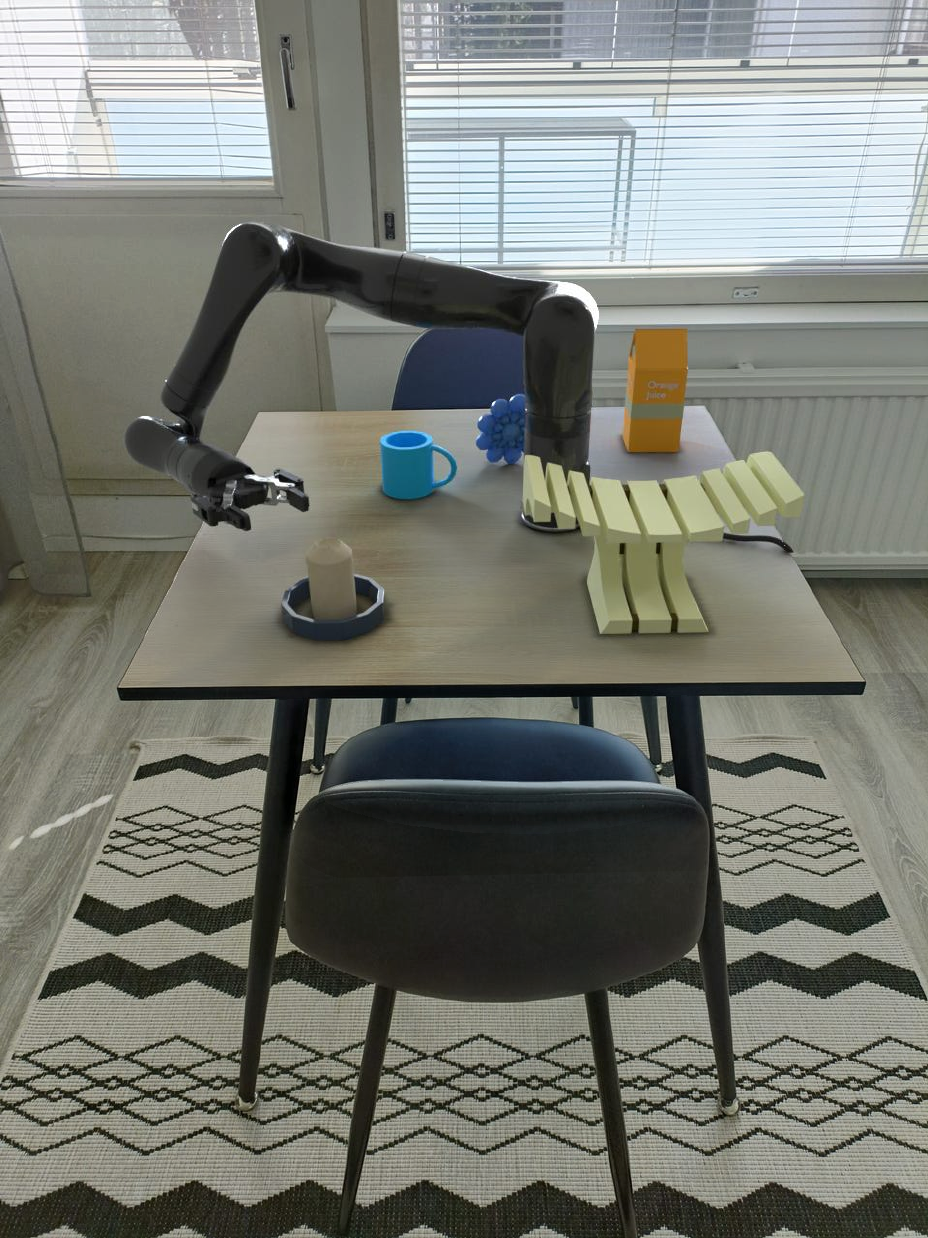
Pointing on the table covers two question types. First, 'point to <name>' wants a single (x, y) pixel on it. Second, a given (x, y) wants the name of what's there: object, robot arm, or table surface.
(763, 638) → the table surface
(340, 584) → the candle
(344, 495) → the table surface
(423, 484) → the mug
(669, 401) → the orange juice
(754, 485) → the slatted curved stool
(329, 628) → the ring
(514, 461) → the blue ball flower
